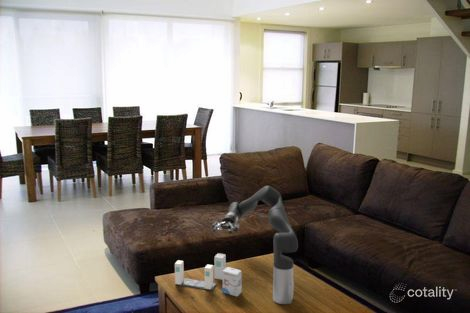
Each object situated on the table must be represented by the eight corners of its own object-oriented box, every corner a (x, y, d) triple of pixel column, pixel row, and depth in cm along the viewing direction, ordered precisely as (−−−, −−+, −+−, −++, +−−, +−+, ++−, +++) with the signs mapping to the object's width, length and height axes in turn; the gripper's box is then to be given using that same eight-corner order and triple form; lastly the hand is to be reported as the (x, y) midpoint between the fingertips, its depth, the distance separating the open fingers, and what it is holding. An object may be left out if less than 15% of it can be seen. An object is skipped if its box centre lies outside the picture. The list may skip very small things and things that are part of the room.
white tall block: (225, 275, 231) (225, 254, 229) (222, 279, 226) (222, 258, 224) (217, 274, 232) (217, 253, 230) (214, 278, 227) (214, 257, 225)
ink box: (221, 292, 213) (221, 270, 210) (226, 288, 217) (226, 266, 215) (237, 297, 209) (237, 274, 206) (241, 292, 213) (242, 270, 211)
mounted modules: (213, 285, 217) (213, 265, 215) (210, 289, 214) (210, 268, 212) (178, 280, 223) (178, 260, 221) (175, 283, 219) (174, 263, 217)
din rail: (216, 284, 220) (216, 283, 220) (212, 290, 215) (212, 288, 215) (180, 279, 226) (180, 277, 226) (175, 284, 221) (175, 282, 220)
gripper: (218, 213, 248) (209, 224, 232) (242, 215, 244) (235, 226, 229) (218, 225, 250) (209, 236, 234) (242, 228, 246) (235, 239, 231)
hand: (222, 231), depth 232 cm, fingers open, 8 cm apart
